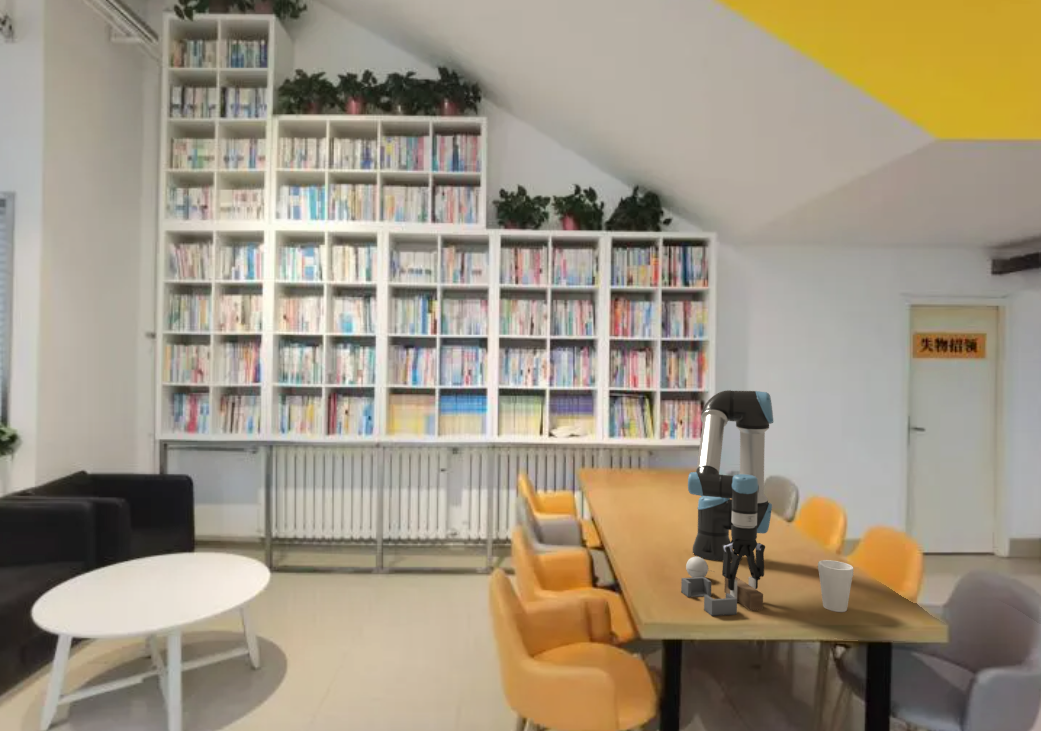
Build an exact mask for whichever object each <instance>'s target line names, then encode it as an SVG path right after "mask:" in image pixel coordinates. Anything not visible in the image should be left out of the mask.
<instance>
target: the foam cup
mask: <svg viewBox="0 0 1041 731" xmlns="http://www.w3.org/2000/svg"><path fill="white" fill-rule="evenodd" d="M817 562H818V563H817V570H818V574H819V583H820V591H821V599H822V600H821V601H822V606H823V608H825V609H827V610H828V611H831V612H835V613H845V612H847V610H848V606H849V605H848V604H849V599H850V592H851V587H852V580H853V577H854V567H853V565H851V564H849V563H846V562H843V561H837V560H830V559H823V560H819V561H817Z"/></svg>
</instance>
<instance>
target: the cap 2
mask: <svg viewBox="0 0 1041 731" xmlns="http://www.w3.org/2000/svg"><path fill="white" fill-rule="evenodd" d="M703 598H704V599H703V600H704V601H703V610H704V611H705V612H706V613H707V614H708V615H710V616H711V617H718V616H719V617H721V616H733V615H735V616H736V615H737V616H738V601H737V599H736V598H735V597H733V596H732V595H730V594H729V593H728V594H726V593H725V597H724V598H713V597H711V596H708V595H704V596H703Z"/></svg>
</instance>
